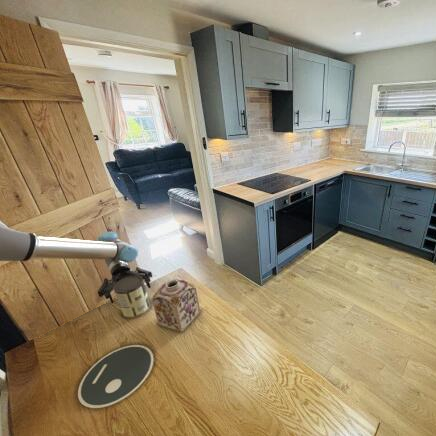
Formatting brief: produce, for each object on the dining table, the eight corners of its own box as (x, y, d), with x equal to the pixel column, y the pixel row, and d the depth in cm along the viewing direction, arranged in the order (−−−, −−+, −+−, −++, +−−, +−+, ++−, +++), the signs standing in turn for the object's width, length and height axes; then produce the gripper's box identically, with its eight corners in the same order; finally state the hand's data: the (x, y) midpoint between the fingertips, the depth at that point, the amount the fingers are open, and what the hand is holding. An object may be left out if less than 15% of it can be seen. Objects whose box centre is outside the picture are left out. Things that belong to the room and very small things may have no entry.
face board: (60, 412, 66) (59, 410, 66) (105, 347, 85) (104, 346, 84) (135, 406, 68) (134, 404, 68) (163, 344, 86) (163, 342, 86)
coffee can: (134, 299, 106) (125, 274, 101) (155, 301, 105) (148, 276, 100) (116, 317, 97) (106, 290, 91) (140, 320, 96) (131, 292, 90)
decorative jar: (181, 333, 91) (173, 297, 83) (157, 325, 94) (147, 289, 86) (201, 311, 101) (195, 277, 94) (179, 304, 104) (171, 271, 97)
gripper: (150, 266, 123) (164, 286, 109) (89, 288, 107) (97, 315, 93) (147, 253, 120) (161, 272, 106) (84, 274, 104) (90, 300, 90)
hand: (131, 292), depth 99 cm, fingers open, 13 cm apart
